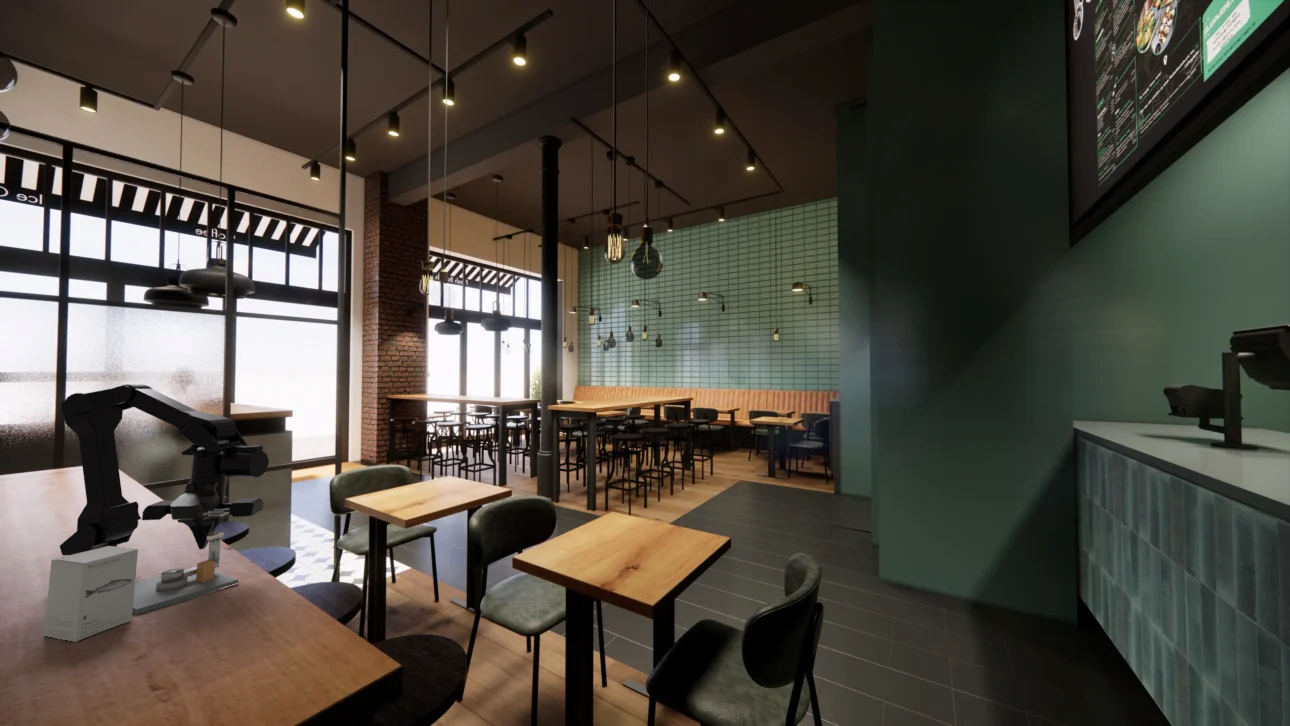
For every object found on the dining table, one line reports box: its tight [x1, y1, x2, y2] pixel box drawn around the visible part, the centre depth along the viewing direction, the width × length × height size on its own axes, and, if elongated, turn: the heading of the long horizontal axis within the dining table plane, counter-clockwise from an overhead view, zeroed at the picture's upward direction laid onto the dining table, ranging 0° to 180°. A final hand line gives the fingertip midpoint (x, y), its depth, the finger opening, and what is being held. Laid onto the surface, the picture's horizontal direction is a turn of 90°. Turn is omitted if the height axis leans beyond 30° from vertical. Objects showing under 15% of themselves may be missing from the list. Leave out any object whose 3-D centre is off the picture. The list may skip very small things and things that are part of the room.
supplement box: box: [43, 546, 139, 643], centre depth 79 cm, size 7×7×13 cm
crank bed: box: [132, 559, 239, 616], centre depth 94 cm, size 16×15×4 cm
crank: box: [160, 531, 225, 583], centre depth 97 cm, size 10×3×7 cm, turn 164°
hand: (202, 548), depth 100 cm, fingers closed
